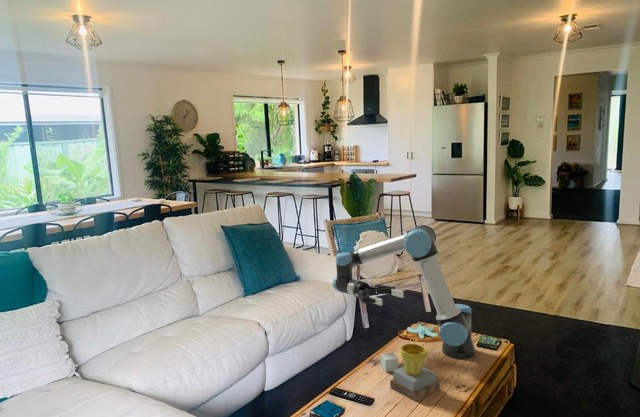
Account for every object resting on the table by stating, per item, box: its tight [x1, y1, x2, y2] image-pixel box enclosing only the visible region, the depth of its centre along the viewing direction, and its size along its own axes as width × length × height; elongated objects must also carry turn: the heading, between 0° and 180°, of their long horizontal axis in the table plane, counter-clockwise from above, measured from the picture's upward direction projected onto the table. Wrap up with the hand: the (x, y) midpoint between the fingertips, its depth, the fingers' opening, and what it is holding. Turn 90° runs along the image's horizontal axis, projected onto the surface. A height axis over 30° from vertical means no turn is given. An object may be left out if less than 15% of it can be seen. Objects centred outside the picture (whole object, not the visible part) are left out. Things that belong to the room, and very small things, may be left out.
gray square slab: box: [392, 365, 437, 392], centre depth 187 cm, size 12×12×4 cm
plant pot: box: [400, 343, 428, 375], centre depth 186 cm, size 10×10×10 cm
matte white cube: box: [380, 352, 399, 373], centre depth 206 cm, size 6×6×6 cm
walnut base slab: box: [389, 379, 441, 403], centre depth 188 cm, size 14×14×4 cm
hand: (392, 298), depth 200 cm, fingers open, 13 cm apart
